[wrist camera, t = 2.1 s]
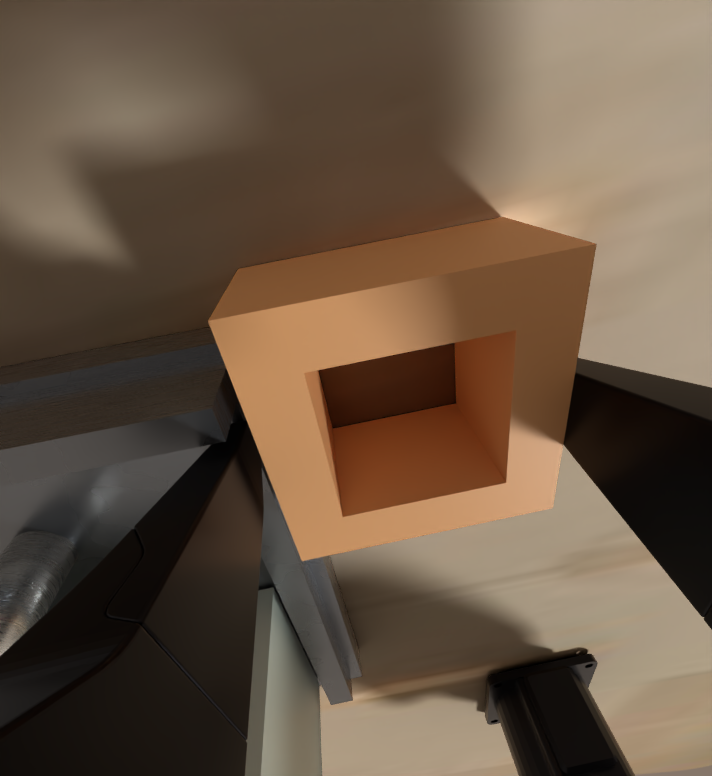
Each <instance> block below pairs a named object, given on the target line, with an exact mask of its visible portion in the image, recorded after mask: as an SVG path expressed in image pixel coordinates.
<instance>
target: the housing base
mask: <svg viewBox="0 0 712 776" xmlns="http://www.w3.org/2000/svg"><path fill="white" fill-rule="evenodd" d="M244 420H246V417H245V415H244V412H243V409H242V407H241V404H240V402H239V399H238V397H237V394H236V392H235V389H234V386H233V384H232V381H231V379H230V376H229V374H228V371H227V369H226V366H225V363H224V361H223V358H222V356H221V353H220V351H219V348H218V346H217V343H216V340H215V338H214V335H213V333H212V330H211V328H210V327H207V328H202V329H197V330H192V331H187V332H181V333H176V334H171V335H166V336H161V337H156V338H150V339H145V340H140V341H135V342H130V343H125V344H119V345H114V346H109V347H104V348H99V349H94V350H88V351H83V352H78V353H73V354H68V355H63V356H58V357H52V358H47V359H42V360H37V361H32V362H27V363H21V364H16V365H11V366H6V367H1V368H0V656H1V655H2V654H3V653H4V652H5V651H6V650H7V649H8V648H9V647H10V646H12V645H13V644H14V643H15V642H16V641H17V640H18V639H19V638H20V637H21V636H22V635H23V634H24V633H25V632H27V631H28V630H29V629H30V628H31V627H32V626H33V625H34V624H35V623H36V622H37V621H38V620H39V619H40V618H41V617H43V616H44V615H45V614H46V613H47V612H48V611H49V610H50V609H51V608H52V607H53V606H54V605H55V604H56V603H58V602H59V601H60V600H61V599H62V598H63V597H64V596H65V595H66V594H67V593H68V592H69V591H70V590H71V589H72V588H73V587H74V586H76V585H77V584H78V583H79V582H80V581H81V580H82V579H83V578H84V577H85V576H86V575H87V574H88V573H89V572H90V571H91V570H92V569H93V568H94V567H95V566H96V565H97V564H98V563H99V562H100V561H101V560H102V559H103V558H104V557H105V556H106V555H107V554H108V553H109V552H110V551H111V550H112V549H113V548H114V547H115V546H116V545H117V544H118V543H119V542H120V541H121V540H122V538H123V537H124V536H125V535H126V534H127V533H128V532H129V531H130V530H131V529H135V528H134V526H135V525H136V524H137V523H138V522H139V520H140V519H141V518H142V517H143V516H144V515H145V514H146V513H147V512H148V511H149V510H150V509H151V508H152V507H153V506H154V505H155V503H156V502H157V501H158V500H159V499H160V498H161V497H162V496H163V495H164V494H165V493H166V492H167V491H168V490H169V489H170V488H171V486H172V485H173V484H174V483H175V482H176V481H177V480H178V479H179V478H180V477H181V476H182V475H183V474H184V473H185V472H186V470H187V469H188V468H189V467H190V466H191V465H192V464H193V463H194V462H195V461H196V460H197V459H198V458H199V457H200V456H201V455H202V453H203V452H204V451H205V450H206V449H207V448H208V447H209V446H210V445H211V444H216V443H221V442H226V440H227V436H228V432H229V429H230V425H231V423H235V422H239V421H244ZM261 463H262V482H263V500H264V518H263V532H262V546H261V560H260V573H259V587H258V591H259V590H263V589H268V588H273V587H274V590H275V592H276V594H277V596H278V598H279V600H280V602H281V604H282V606H283V608H284V610H285V613H286V615H287V617H288V619H289V621H290V623H291V625H292V627H293V629H294V631H295V634H296V636H297V638H298V640H299V642H300V644H301V646H302V648H303V650H304V652H305V655H306V657H307V659H308V661H309V663H310V665H311V667H312V669H313V671H314V673H315V676H316V678H317V680H318V682H319V686H320V685H322V687H323V689H324V691H325V693H326V695H327V697H328V699H329V701H330V704H331V705H333V704H338V703H343V702H347V701H352V700H353V697H352V686H351V679H352V678H357V677H362V672H361V663H360V654H359V648H358V645H357V642H356V638H355V635H354V632H353V629H352V626H351V623H350V619H349V616H348V613H347V610H346V607H345V604H344V600H343V597H342V594H341V591H340V588H339V585H338V581H337V578H336V575H335V572H334V569H333V566H332V562H331V559H330V556H324V557H319V558H315V559H310V560H305V561H302V560H301V558H300V555H299V553H298V550H297V547H296V545H295V542H294V540H293V537H292V535H291V532H290V530H289V527H288V524H287V522H286V519H285V517H284V514H283V512H282V509H281V507H280V504H279V501H278V499H277V496H276V494H275V491H274V489H273V486H272V484H271V481H270V478H269V476H268V473H267V471H266V468H265V466H264V463H263V461H262V458H261Z"/></svg>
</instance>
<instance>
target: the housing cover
mask: <svg viewBox="0 0 712 776" xmlns="http://www.w3.org/2000/svg"><path fill="white" fill-rule="evenodd" d="M246 742H247V755H246V768H245V776H322V758H321V727H320V695H319V682H318V680H317V678H316V676H315V673H314V671H313V669H312V667H311V665H310V663H309V661H308V659H307V657H306V655H305V652H304V650H303V648H302V646H301V644H300V642H299V640H298V638H297V636H296V634H295V631H294V629H293V627H292V625H291V623H290V621H289V619H288V617H287V615H286V613H285V610H284V608H283V606H282V604H281V602H280V600H279V598H278V596H277V594H276V592H275V590H274V587H273V588H268V589H263V590H259V591H258V601H257V615H256V628H255V642H254V656H253V669H252V683H251V697H250V711H249V724H248V738H247V740H246Z"/></svg>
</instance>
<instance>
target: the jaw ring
mask: <svg viewBox="0 0 712 776" xmlns="http://www.w3.org/2000/svg"><path fill="white" fill-rule="evenodd" d="M595 250H596V244H595V243H591V242H588V241H584V240H581V239H577V238H574V237H571V236H567V235H564V234H560V233H557V232H553V231H550V230H546V229H543V228H539V227H536V226H532V225H529V224H525V223H522V222H519V221H515V220H512V219H508V218H505V217H500V218H495V219H490V220H485V221H480V222H475V223H470V224H464V225H459V226H454V227H449V228H444V229H439V230H434V231H429V232H424V233H419V234H413V235H408V236H403V237H398V238H393V239H388V240H383V241H378V242H373V243H367V244H362V245H357V246H352V247H347V248H342V249H337V250H332V251H327V252H322V253H316V254H311V255H306V256H301V257H296V258H291V259H286V260H281V261H276V262H270V263H265V264H260V265H255V266H250V267H245V268H240V269H238V270H237V272H236V273H235V275H234V277H233V279H232V280H231V282H230V284H229V285H228V287H227V289H226V291H225V292H224V294H223V296H222V298H221V299H220V301H219V303H218V304H217V306H216V308H215V310H214V311H213V313H212V315H211V316H210V318H209V320H208V323H209V325H210V328H211V330H212V333H213V335H214V338H215V340H216V343H217V346H218V348H219V351H220V353H221V356H222V358H223V361H224V363H225V366H226V369H227V371H228V374H229V376H230V379H231V381H232V384H233V386H234V389H235V392H236V394H237V397H238V399H239V402H240V404H241V407H242V409H243V412H244V415H245V417H246V420H247V422H248V425H249V427H250V430H251V432H252V435H253V438H254V440H255V443H256V445H257V448H258V450H259V453H260V455H261V458H262V461H263V463H264V466H265V468H266V471H267V473H268V476H269V478H270V481H271V484H272V486H273V489H274V491H275V494H276V496H277V499H278V501H279V504H280V507H281V509H282V512H283V514H284V517H285V519H286V522H287V524H288V527H289V530H290V532H291V535H292V537H293V540H294V542H295V545H296V547H297V550H298V553H299V555H300V558H301V560H302V561H305V560H310V559H315V558H319V557H324V556H329V555H333V554H338V553H343V552H348V551H352V550H357V549H362V548H367V547H371V546H376V545H381V544H385V543H390V542H395V541H400V540H404V539H409V538H414V537H419V536H423V535H428V534H433V533H437V532H442V531H447V530H452V529H456V528H461V527H466V526H471V525H475V524H480V523H485V522H489V521H494V520H499V519H504V518H508V517H513V516H518V515H523V514H527V513H532V512H537V511H541V510H546V509H551V508H553V504H554V498H555V492H556V486H557V480H558V473H559V467H560V461H561V455H562V449H563V443H564V437H565V431H566V425H567V419H568V413H569V407H570V401H571V395H572V389H573V383H574V377H575V371H576V365H577V359H578V353H579V346H580V340H581V334H582V328H583V322H584V316H585V310H586V304H587V298H588V292H589V286H590V280H591V274H592V268H593V262H594V256H595ZM450 343H454V345H455V382H456V403H455V404H450V405H446V406H441V407H436V408H431V409H426V410H421V411H416V412H411V413H406V414H402V415H397V416H392V417H387V418H382V419H377V420H372V421H367V422H363V423H358V424H353V425H348V426H343V427H338V428H332V424H331V420H330V416H329V412H328V408H327V403H326V399H325V395H324V391H323V387H322V383H321V379H320V375H319V371H318V370H322V369H327V368H331V367H336V366H341V365H346V364H351V363H356V362H361V361H366V360H371V359H376V358H381V357H386V356H391V355H396V354H401V353H406V352H411V351H416V350H421V349H426V348H431V347H436V346H440V345H445V344H450Z"/></svg>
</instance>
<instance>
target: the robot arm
mask: <svg viewBox="0 0 712 776" xmlns="http://www.w3.org/2000/svg"><path fill="white" fill-rule="evenodd" d="M563 444H564V446H565V447H566V448H567V450H568V451H569V452H570V453H571V454H572V456H573V457H574V458H575V459H576V461H577V462H578V463H579V464H580V466H581V467H582V468H583V469H584V471H585V472H586V473H587V474H588V476H589V477H590V478H591V479H592V481H593V482H594V483H595V484H596V486H597V487H598V488H599V489H600V491H601V492H602V493H603V494H604V496H605V497H606V498H607V499H608V501H609V502H610V503H611V504H612V506H613V507H614V508H615V509H616V511H617V512H618V513H619V514H620V515H621V517H622V518H623V519H624V520H625V522H626V523H627V524H628V525H629V527H630V528H631V529H632V530H633V532H634V533H635V534H636V535H637V537H638V538H639V539H640V540H641V542H642V543H643V544H644V545H645V547H646V548H647V549H648V550H649V552H650V553H651V554H652V555H653V557H654V558H655V559H656V560H657V562H658V563H659V564H660V565H661V567H662V568H663V569H664V570H665V572H666V573H667V574H668V575H669V577H670V578H671V579H672V580H673V581H674V583H675V584H676V585H677V586H678V588H679V589H680V590H681V591H682V593H683V594H684V595H685V596H686V598H687V599H688V600H689V601H690V603H691V604H692V605H693V606H694V608H695V609H696V610H697V611H698V613H699V614H700V615H701V616H702V617H704V621H705V622H706V623H707V624H708V626H709V627H710V628H711V629H712V388H711V387H706V386H702V385H697V384H693V383H688V382H684V381H679V380H675V379H670V378H666V377H661V376H657V375H652V374H648V373H643V372H639V371H634V370H630V369H626V368H621V367H617V366H612V365H608V364H603V363H599V362H594V361H590V360H585V359H581V358H578V359H577V365H576V371H575V377H574V383H573V389H572V395H571V401H570V407H569V413H568V419H567V425H566V431H565V437H564V443H563ZM263 518H264V500H263V482H262V463H261V455H260V453H259V450H258V448H257V445H256V443H255V440H254V438H253V435H252V432H251V430H250V427H249V425H248V422H247V420H244V421H239V422H235V423H231V425H230V429H229V432H228V436H227V440H226V442H221V443H216V444H211V445H210V446H209V447H208V448H207V449H206V450H205V451H204V452H203V453H202V455H201V456H200V457H199V458H198V459H197V460H196V461H195V462H194V463H193V464H192V465H191V466H190V467H189V468H188V469H187V470H186V472H185V473H184V474H183V475H182V476H181V477H180V478H179V479H178V480H177V481H176V482H175V483H174V484H173V485H172V486H171V488H170V489H169V490H168V491H167V492H166V493H165V494H164V495H163V496H162V497H161V498H160V499H159V500H158V501H157V502H156V503H155V505H154V506H153V507H152V508H151V509H150V510H149V511H148V512H147V513H146V514H145V515H144V516H143V517H142V518H141V519H140V520H139V522H138V523H137V524H136V525H135V526H134V528H135V529H131V530H130V531H129V532H128V533H127V534H126V535H125V536H124V537H123V538H122V540H121V541H120V542H119V543H118V544H117V545H116V546H115V547H114V548H113V549H112V550H111V551H110V552H109V553H108V554H107V555H106V556H105V557H104V558H103V559H102V560H101V561H100V562H99V563H98V564H97V565H96V566H95V567H94V568H93V569H92V570H91V571H90V572H89V573H88V574H87V575H86V576H85V577H84V578H83V579H82V580H81V581H80V582H79V583H78V584H77V585H76V586H74V587H73V588H72V589H71V590H70V591H69V592H68V593H67V594H66V595H65V596H64V597H63V598H62V599H61V600H60V601H59V602H58V603H56V604H55V605H54V606H53V607H52V608H51V609H50V610H49V611H48V612H47V613H46V614H45V615H44V616H43V617H41V618H40V619H39V620H38V621H37V622H36V623H35V624H34V625H33V626H32V627H31V628H30V629H29V630H28V631H27V632H25V633H24V634H23V635H22V636H21V637H20V638H19V639H18V640H17V641H16V642H15V643H14V644H13V645H12V646H10V647H9V648H8V649H7V650H6V651H5V652H4V653H3V654H2V655H1V656H0V776H245V768H246V755H247V742H246V740H247V738H248V724H249V711H250V697H251V683H252V669H253V656H254V642H255V628H256V615H257V601H258V587H259V573H260V560H261V546H262V532H263ZM596 666H597V661H596V660H595V658H594V656H593V655H592V654H585V655H581V656H576V657H571V658H567V659H562V660H557V661H553V662H548V663H544V664H539V665H534V666H530V667H525V668H520V669H516V670H511V671H507V672H502V673H497V674H493V675H491V676H489V677H488V678H487V686H486V703H485V717H486V720H487V723H488V724H491V725H492V724H497V723H501V726H502V729H503V732H504V735H505V738H506V740H507V743H508V746H509V749H510V752H511V755H512V758H513V760H514V763H515V766H516V769H517V772H518V775H519V776H635V774H634V773H633V771H632V769H631V767H630V765H629V763H628V761H627V760H626V758H625V756H624V754H623V752H622V750H621V748H620V747H619V745H618V743H617V741H616V739H615V737H614V735H613V734H612V732H611V730H610V728H609V726H608V724H607V722H606V721H605V719H604V717H603V715H602V713H601V711H600V710H599V708H598V706H597V704H596V702H595V700H594V698H593V697H592V695H591V693H590V691H589V689H588V687H589V684H590V682H591V679H592V677H593V674H594V671H595V669H596Z"/></svg>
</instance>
